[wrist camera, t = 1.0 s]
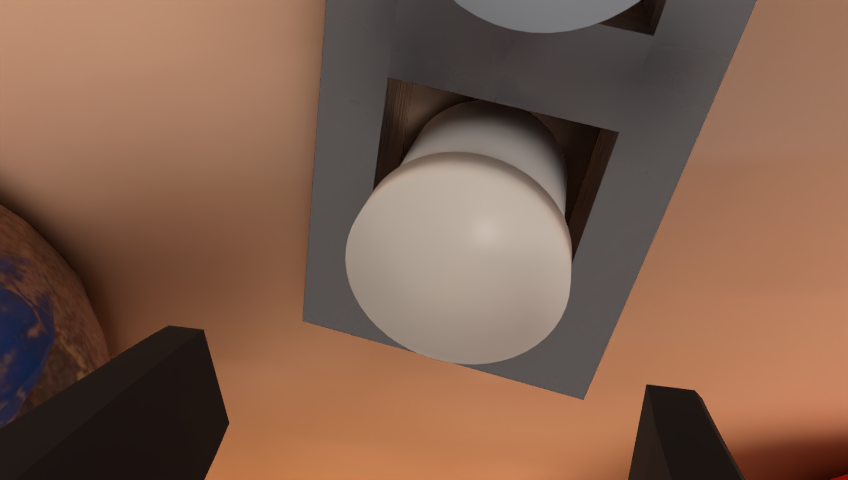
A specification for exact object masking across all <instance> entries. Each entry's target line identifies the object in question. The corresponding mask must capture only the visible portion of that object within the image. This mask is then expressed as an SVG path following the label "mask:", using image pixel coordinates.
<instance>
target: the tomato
mask: <svg viewBox="0 0 848 480" xmlns="http://www.w3.org/2000/svg"><path fill="white" fill-rule="evenodd" d="M830 480H848V474H847V475H844V476H840V477H837V478H834V479H830Z"/></svg>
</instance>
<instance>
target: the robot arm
mask: <svg viewBox="0 0 848 480" xmlns="http://www.w3.org/2000/svg"><path fill="white" fill-rule="evenodd" d="M228 425H229V420H228V417H227V413H226V409H225V406H224V402H223V399H222V395H221V391H220V388H219V384H218V380H217V377H216V373H215V370H214V366H213V362H212V359H211V355H210V351H209V348H208V344H207V341H206V337H205V333H204V330H201V329H193V328H185V327H177V326H167V327H165V328H163V329H162V330H160V331H158V332H156V333H154V334H153V335H151V336H149V337H148V338H146V339H144V340H143V341H141V342H139V343H138V344H136V345H134V346H133V347H131V348H129V349H128V350H126V351H125V352H123V353H121V354H120V355H118V356H117V357H115V358H113V359H112V360H110V361H109V362H107V363H106V364H104V365H102V366H101V367H99V368H98V369H96V370H94V371H93V372H91V373H90V374H88V375H87V376H85V377H83V378H82V379H80V380H79V381H77V382H75V383H74V384H72V385H71V386H69V387H67V388H66V389H64V390H63V391H61V392H59V393H58V394H56V395H55V396H53V397H51V398H50V399H48V400H46V401H45V402H43V403H42V404H40V405H38V406H37V407H35V408H34V409H32V410H30V411H29V412H27V413H26V414H24V415H22V416H20V417H19V418H17V419H15V420H14V421H12V422H10V423H8V424H7V425H5V426H3V427H2V428H0V480H204V479H205V477H206V475H207V473H208V470H209V468H210V466H211V464H212V462H213V460H214V458H215V455H216V453H217V451H218V448H219V446H220V444H221V441H222V439H223V437H224V434H225V432H226V430H227V427H228ZM628 480H745V478H744V476H743V474H742V473H741V471H740V469H739V467H738V466H737V464H736V462H735V460H734V459H733V457H732V455H731V453H730V452H729V450H728V448H727V446H726V444H725V442H724V441H723V439H722V437H721V435H720V433H719V431H718V429H717V427H716V425H715V424H714V422H713V420H712V418H711V416H710V414H709V412H708V410H707V408H706V406H705V404H704V402H703V400H702V398H701V397H700V396H699V395H698V393H697V392H696V391H695V390H687V389H679V388H671V387H663V386H655V385H646V390H645V395H644V400H643V406H642V411H641V416H640V421H639V426H638V431H637V437H636V442H635V447H634V452H633V457H632V462H631V468H630V473H629V478H628Z"/></svg>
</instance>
